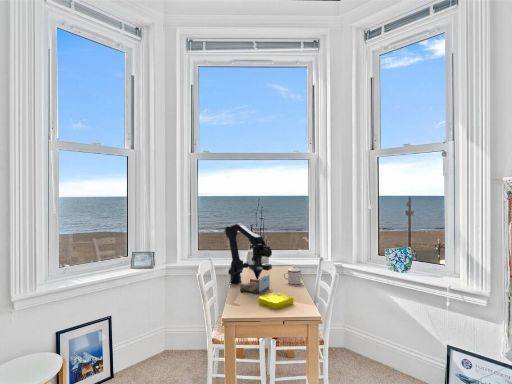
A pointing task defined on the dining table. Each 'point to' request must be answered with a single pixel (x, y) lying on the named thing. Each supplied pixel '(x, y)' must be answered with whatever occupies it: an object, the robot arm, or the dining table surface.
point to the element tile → (275, 300)
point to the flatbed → (251, 287)
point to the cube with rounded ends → (254, 283)
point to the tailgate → (264, 282)
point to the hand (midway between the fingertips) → (257, 279)
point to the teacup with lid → (293, 275)
